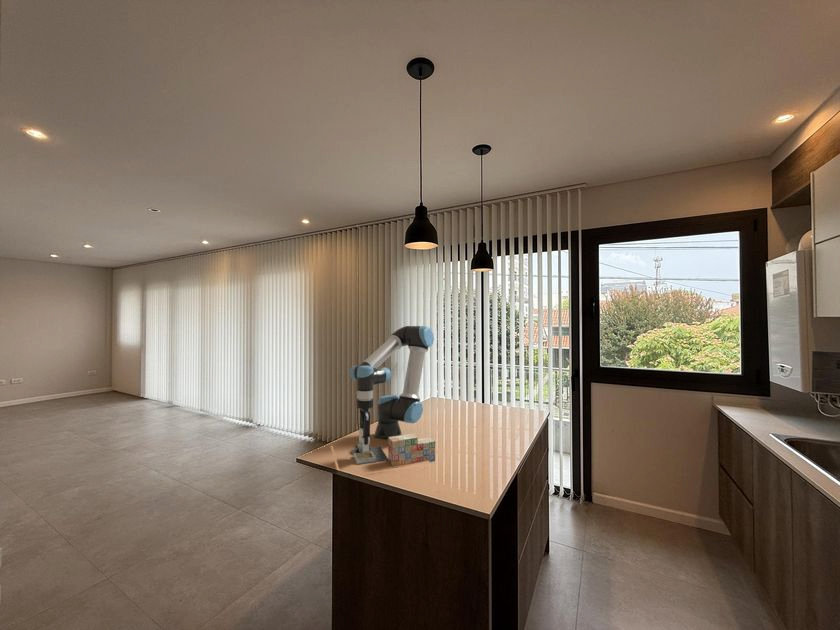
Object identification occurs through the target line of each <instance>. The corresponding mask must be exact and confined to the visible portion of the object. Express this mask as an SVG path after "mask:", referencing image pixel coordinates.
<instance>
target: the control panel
mask: <svg viewBox="0 0 840 630" xmlns="http://www.w3.org/2000/svg"><path fill="white" fill-rule="evenodd" d="M357 445H358V444H356V445H354V449H351V450H350V452H351V453H352V457H353V459H354V462H355V464H356V466H361V465H366V464H369V465H370V464H374V463H382V462H383V463H384V462H389V461H388V457H387V455H386V453H385V451H383V449H382V447H381V446H374V447H370V451H368V452H359V449H357Z"/></svg>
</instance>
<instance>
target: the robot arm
mask: <svg viewBox="0 0 840 630" xmlns="http://www.w3.org/2000/svg"><path fill="white" fill-rule="evenodd" d="M434 341H435V335H434V333H433V331H432V329H431V328H430V327H429V326H424V325H406V326H402V327H400V328H399V329H397V330H395V331H394V332H392V333H391V334H390V335H389V336H388V338H387V340H386V341H385V342H384V343H383V344H382V345H381V346H379V347H378V348H377V349H376V350H375V351H374V352H373V353H372V354H370V356H368V357H367V358H366V359H365V360H364V361H363V362H361V363H360V364H359V365H352V366H351V368H350V370H349V373H348V374H349V377H350V378H351V380H354V381H356V391H357V392H355V395H356V408H357V409H359V429H360V428H363V436H362V438H363V452H365V451H369V437H370V438H371V413H370V410H369V409H372V408H374V385H379V384H385V383H388V382H389V381H390V380H391V378H392V372H391V370H390V369H389V368H388V367H380V366H381V365H382V364H383V363H385V361H386V360H387V359H389V358H390V357H391V356H392V354H394V352H396V351H397V350H401V349H402V347H405V346H406V347H407V348H408V349H409V354H408V361H407V366H406V373H405V379H404V383H403V390H402V393H400V394H399V395H398V394H387V395H382V396H380V397H378V400H377V401H378V402H377V426H376V428H375V431H374V438H375V439H381V440H388V437H393V436H400V435H402V430H401V427H400V424H399V422H403V423H405V424H415V423H417V422H418V421H419V420H420V419H421V418H422V415H423V411H424V407H423V404H422V402H421V398H420V397H419V392H420V387H421V386H420V384H421V378H422V373H423V367H424V360H425V354H426V353H427V352H428V351H429V348H430V347H432V346H433V344H434Z"/></svg>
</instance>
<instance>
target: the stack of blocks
mask: <svg viewBox="0 0 840 630" xmlns="http://www.w3.org/2000/svg"><path fill="white" fill-rule="evenodd" d="M387 441H388V444H387V446H388V447H387V452H388V457H387V458H388V461H387V462H389V464H390V465H391V466H392V467H394V466H395V467H394V469H396V468H398V466H401V465H407V464H412V463H418V462H425V461H428V462H435V461H436V441H435V440H434V439H433V438H431V437H425V438H418V437H417V435H415V434H414V433H407V434H401V435H400V436H393V437H388V439H387ZM402 467H405V466H401V468H402Z"/></svg>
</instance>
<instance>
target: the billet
mask: <svg viewBox="0 0 840 630" xmlns="http://www.w3.org/2000/svg"><path fill="white" fill-rule="evenodd" d="M362 436H363V428H360V427H359V429H358V444H359V452H363V438H362ZM370 444H371V436H370V437H369V451H370V448H371V445H370ZM365 452H368V451H365Z"/></svg>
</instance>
